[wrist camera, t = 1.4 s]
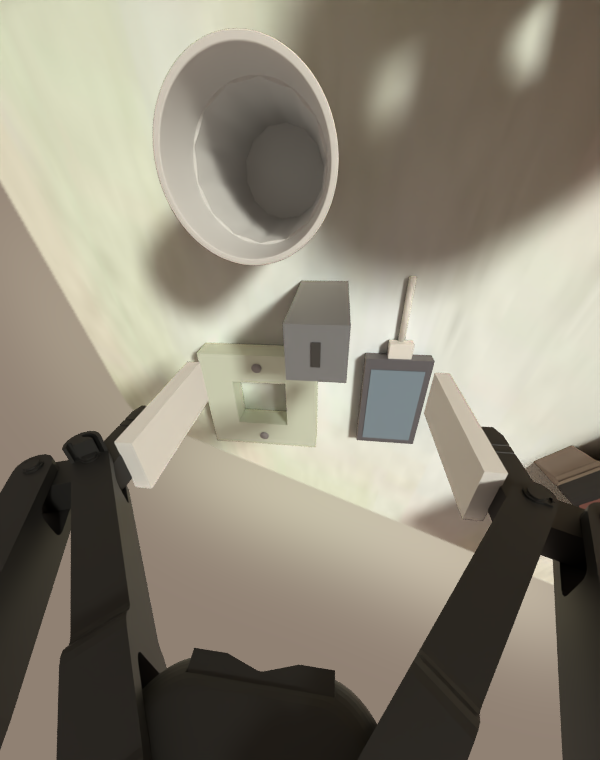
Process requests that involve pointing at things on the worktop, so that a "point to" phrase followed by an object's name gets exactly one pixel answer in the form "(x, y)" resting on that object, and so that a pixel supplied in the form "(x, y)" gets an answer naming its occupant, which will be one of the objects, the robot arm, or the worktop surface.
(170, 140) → the cup
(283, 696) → the robot arm
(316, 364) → the block
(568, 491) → the toaster
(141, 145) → the worktop surface
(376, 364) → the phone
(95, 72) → the worktop surface
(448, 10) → the worktop surface
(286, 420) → the outlet plate
